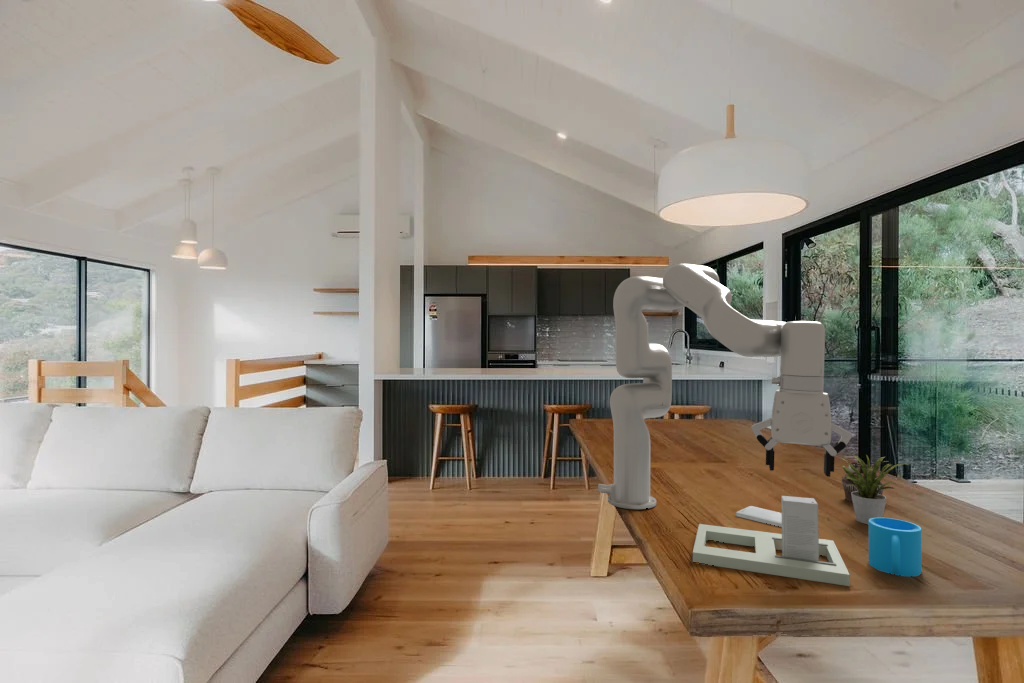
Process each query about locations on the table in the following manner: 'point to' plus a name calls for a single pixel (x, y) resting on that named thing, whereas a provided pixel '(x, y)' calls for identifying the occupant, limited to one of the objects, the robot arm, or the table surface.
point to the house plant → (868, 490)
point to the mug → (895, 546)
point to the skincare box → (800, 528)
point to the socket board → (768, 555)
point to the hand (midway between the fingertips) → (798, 472)
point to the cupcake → (850, 489)
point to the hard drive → (761, 515)
